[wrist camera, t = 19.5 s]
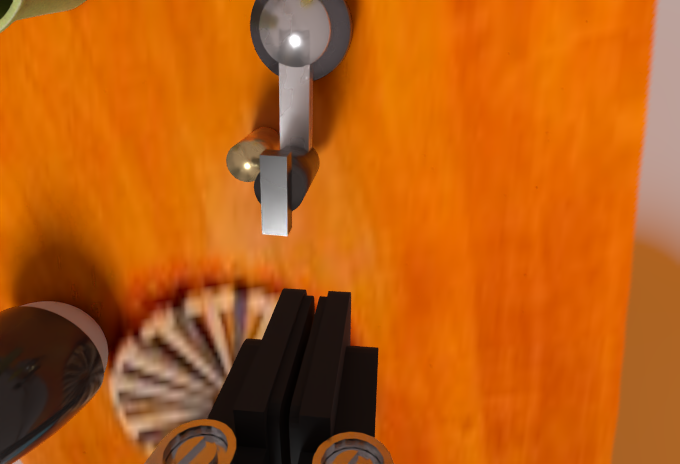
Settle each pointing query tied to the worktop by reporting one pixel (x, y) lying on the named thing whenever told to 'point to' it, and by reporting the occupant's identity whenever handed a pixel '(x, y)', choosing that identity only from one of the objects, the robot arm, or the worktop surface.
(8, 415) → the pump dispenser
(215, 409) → the robot arm
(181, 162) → the worktop surface
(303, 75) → the crank handle
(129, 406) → the worktop surface
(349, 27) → the crank base
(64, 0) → the plant pot
